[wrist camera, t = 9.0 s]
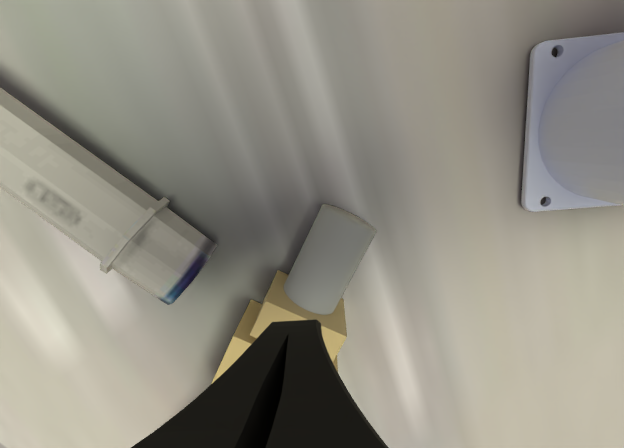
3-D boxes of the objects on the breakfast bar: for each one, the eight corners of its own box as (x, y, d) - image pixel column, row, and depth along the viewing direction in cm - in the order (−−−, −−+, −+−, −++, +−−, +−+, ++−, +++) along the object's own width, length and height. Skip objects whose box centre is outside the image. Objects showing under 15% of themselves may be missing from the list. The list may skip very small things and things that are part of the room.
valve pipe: (300, 189, 18) (293, 202, 14) (393, 232, 18) (409, 256, 15) (181, 452, 23) (152, 512, 19) (256, 482, 23) (242, 547, 19)
